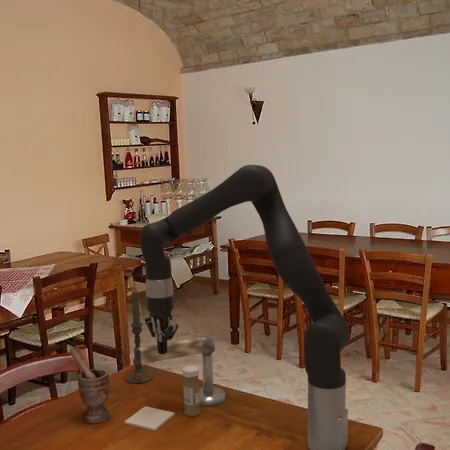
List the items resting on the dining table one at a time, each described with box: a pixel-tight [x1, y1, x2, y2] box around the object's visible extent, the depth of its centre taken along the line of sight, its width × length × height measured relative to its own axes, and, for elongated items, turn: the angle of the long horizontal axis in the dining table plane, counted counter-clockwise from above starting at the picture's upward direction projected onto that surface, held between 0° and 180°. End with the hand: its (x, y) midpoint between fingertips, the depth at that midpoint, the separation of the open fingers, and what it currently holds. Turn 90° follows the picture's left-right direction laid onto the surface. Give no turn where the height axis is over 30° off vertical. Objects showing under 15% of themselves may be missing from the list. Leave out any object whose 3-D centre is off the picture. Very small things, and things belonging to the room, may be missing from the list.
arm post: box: [199, 353, 226, 407], centre depth 172 cm, size 10×10×14 cm
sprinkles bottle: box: [182, 365, 201, 417], centre depth 163 cm, size 5×5×14 cm
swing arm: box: [133, 334, 216, 365], centre depth 166 cm, size 24×4×4 cm, turn 113°
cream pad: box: [124, 405, 176, 432], centre depth 161 cm, size 10×10×1 cm
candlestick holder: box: [124, 289, 154, 385], centre depth 186 cm, size 9×9×30 cm
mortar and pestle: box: [69, 346, 110, 424], centre depth 161 cm, size 12×9×20 cm
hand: (162, 353), depth 162 cm, fingers closed
